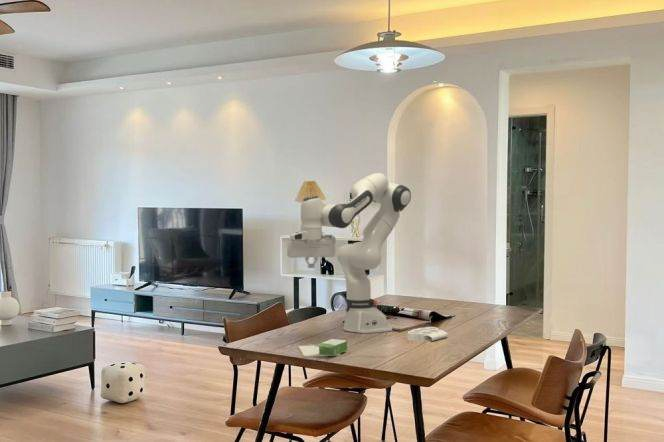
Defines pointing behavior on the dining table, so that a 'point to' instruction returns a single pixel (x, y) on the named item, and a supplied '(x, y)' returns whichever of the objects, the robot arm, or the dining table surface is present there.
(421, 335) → the folded white cloth
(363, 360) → the dining table surface
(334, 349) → the ink box
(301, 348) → the mat
